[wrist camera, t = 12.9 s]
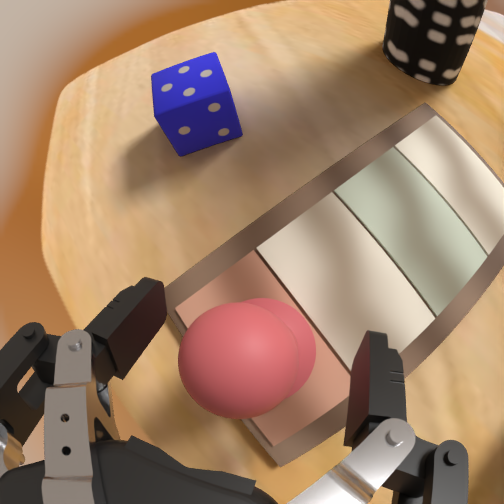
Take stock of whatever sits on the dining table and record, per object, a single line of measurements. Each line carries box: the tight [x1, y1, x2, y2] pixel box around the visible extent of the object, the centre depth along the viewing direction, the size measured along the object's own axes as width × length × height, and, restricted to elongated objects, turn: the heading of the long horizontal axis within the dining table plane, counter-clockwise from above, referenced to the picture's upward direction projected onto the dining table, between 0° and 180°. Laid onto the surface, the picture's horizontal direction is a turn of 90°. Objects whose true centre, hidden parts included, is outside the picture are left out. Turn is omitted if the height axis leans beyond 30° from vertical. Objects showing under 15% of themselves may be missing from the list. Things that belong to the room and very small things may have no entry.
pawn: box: [178, 298, 316, 419], centre depth 12 cm, size 6×6×9 cm
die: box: [151, 52, 243, 156], centre depth 20 cm, size 5×5×5 cm
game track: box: [164, 103, 504, 467], centre depth 17 cm, size 25×13×1 cm, turn 126°
